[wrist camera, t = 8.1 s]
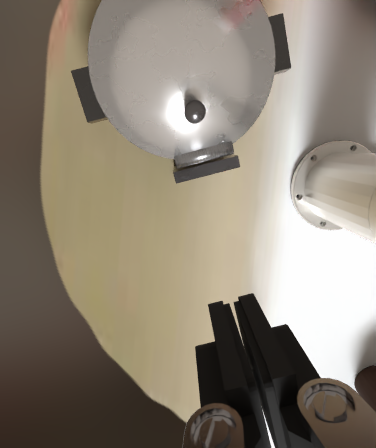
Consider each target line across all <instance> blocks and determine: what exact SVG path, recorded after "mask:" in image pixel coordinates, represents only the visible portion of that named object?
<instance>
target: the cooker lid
mask: <svg viewBox="0 0 376 448" xmlns="http://www.w3.org/2000/svg"><path fill="white" fill-rule="evenodd" d="M88 66H89V74H90V79H91V83H92V87H93V90H94V93H95V95H96V98H97V101H98V103H99V105H100V106H101V108H102V110H103V112H104V114H105V115H106V117H107V118H108V120H109V121H110V122H111V124H112V125H113V126H114V127H115V128H116V129H117V131H118V132H119V133H120V134H122V135H123V136H124V137H125V138H126V139H127V140H128V141H130V142H131V143H133V144H134V145H136V146H137V147H139V148H141V149H143V150H145V151H147V152H149V153H151V154H154V155H157V156H160V157H165V158H169V159H175V163H176V167H177V169H178V168H182V167H186V166H189V165H193V164H197V163H201V162H205V161H209V160H212V159H216V158H220V157H224V156H228V155H232V154H234V150H233V145H232V144H233V143H234V142H236V141H237V140H238V139H239V138H240V137H241V136H243V135H244V134H245V133H246V132H247V131H248V129H249V128H250V127H251V126H252V125H253V124H254V122H255V121H256V119H257V118H258V116H259V115H260V113H261V111H262V109H263V107H264V106H265V104H266V101H267V98H268V96H269V93H270V90H271V86H272V82H273V78H274V70H275V44H274V37H273V33H272V28H271V24H270V22H269V19H268V16H267V13H266V11H265V9H264V7H263V5H262V3H261V1H260V0H102V1H101V3H100V5H99V6H98V9H97V11H96V14H95V16H94V19H93V22H92V26H91V30H90V34H89V43H88Z"/></svg>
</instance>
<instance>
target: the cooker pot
mask: <svg viewBox="0 0 376 448" xmlns="http://www.w3.org/2000/svg"><path fill="white" fill-rule="evenodd" d="M268 19H269V22H270V24H271V28H272V33H273V37H274V44H275V70H274V75H275V74H279V73H282V72H286V71H287V70H289V69H290V68H291V63H290V57H289V50H288V43H287V37H286V30H285V23H284V17H283V13H282V14H278V15H275V16H271V17H268ZM71 73H72V76H73V79H74V82H75V85H76V88H77V91H78V95H79V98H80V101H81V104H82V107H83V110H84V113H85V116H86V119H87V122H88V123H95V122H99V121H103V120H107V119H108V118H107V117H106V115H105V114H104V112H103V110H102V108H101V106H100V105H99V103H98V101H97V98H96V95H95V93H94V90H93V87H92V83H91V79H90V74H89V66H88V67H84V68H80V69H77V70H73V71H71ZM238 167H240V164H239V159H238V156H237V155H228V156H224V157H220V158H216V159H212V160H209V161H205V162H201V163H197V164H193V165H189V166H186V167H182V168H178V169H177V167H176V166H174V170H173V174H174V177H175V181H176V183H180V182H184V181H188V180H192V179H196V178H199V177H203V176H207V175H211V174H215V173H219V172H223V171H226V170H230V169H234V168H238Z"/></svg>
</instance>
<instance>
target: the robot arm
mask: <svg viewBox="0 0 376 448" xmlns="http://www.w3.org/2000/svg"><path fill="white" fill-rule="evenodd" d="M350 147H351V150H350ZM311 156H312V157H313V158H312V160H311ZM297 195H299V196H298V197H297V198H296V196H297ZM291 196H292V201H293V204H294V207H295V209H296V211H297V212H298V214H299V215H300V216H301V217H302V218H303V219H304V220H305V221H306V222H308V223H309V224H311V225H313V226H315V227H317V228H320V229H325V230H339V229H343V228H344V229H346V230H348V231H350V232H352V233H354V234H356V235H358V236H360V237H362V238H364V239H366V240H368V241H370V242H372V243H374V244H376V153H372V152H371V151H369V150H368V149H367V148H366V147H365V146H363V145H361V144H359V143H356V142H352V141H341V140H340V141H332V142H328V143H324V144H322V145H320V146H318V147H316V148H315V149H313V150H312V151H310V152H309V153H308V154H307V155H306V156H305V157H304V158H303V159H302V161H301V162H300V163H299V165H298V166H297V168H296V171H295V173H294V175H293V179H292V183H291ZM321 221H322V223H321ZM320 223H321V224H320ZM238 299H239V301H236V302H234V306H235V311H236V315H237V319H238V323H239V327H240V332H241V336H242V340H243V343H242V340H241V337H240V334H239V331H238V328H237V325H236V322H235V319H234V316H233V313H232V310H231V307H230V304H229V303H228V304H224V305H223V301H219V302H215V303H211V304H208V307H209V312H210V317H211V322H212V327H213V332H214V337H215V342H211V343H207V344H202V345H198V346H196V347H195V350H196V361H197V372H198V382H199V393H200V404H201V408H200V409H198V410H197V411H196V412H195V413H194V414H193V415H192V416H191V417H190V419H189V420H188V422H187V424H186V428H185V431H184V440H183V447H182V448H271V445H270V441H269V436H268V432H267V428H266V423H265V419H264V415H265V418H266V421H267V424H268V427H269V430H270V433H271V436H272V439H273V443H274V446H275V448H376V412H375V411H374V410H373V409H372V408H371V407H370V406H369V405H368V404H367V403H366V402H365V401H364V400H363V398H362V397H361V396H360V395H359V394H358V393H357V392H356V391H355V390H353V389H352V388H351V387H350V386H348V385H347V384H345V383H343V382H341V381H338V380H334V379H330V378H320V376H319V374H318V373H317V371H316V370H315V368H314V366H313V365H312V363H311V362H310V360H309V358H308V357H307V355H306V354H305V352H304V350H303V349H302V347H301V346H300V344H299V342H298V341H297V339H296V338H295V336H294V334H293V333H292V331H291V330H290V328H289V327H288V325H286V324H285V325H281V326H277V327H272V328H271V326H270V324H269V322H268V321H267V319H266V317H265V315H264V313H263V311H262V309H261V307H260V305H259V303H258V301H257V300H256V298H255V296H254V294H253V293H252V294H248V295H244V296H240V297H238ZM243 344H244V346H243ZM244 348H245V349H244ZM262 409H263V411H262ZM263 412H264V415H263Z"/></svg>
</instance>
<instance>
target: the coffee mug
mask: <svg viewBox="0 0 376 448" xmlns="http://www.w3.org/2000/svg"><path fill="white" fill-rule="evenodd" d="M355 388H356V390H357V392H358V394H359V395H360V396H361V397H362V398H363V400H364V401H365V402H366V403H367V404H368V405H369V406H370V407H371V408H372V409H373V410H374V411H375V412H376V366H370V367H367V368H365V369H363V370H362V371H361V372H360V373H359V374H358V375H357V377H356V379H355Z"/></svg>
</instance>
